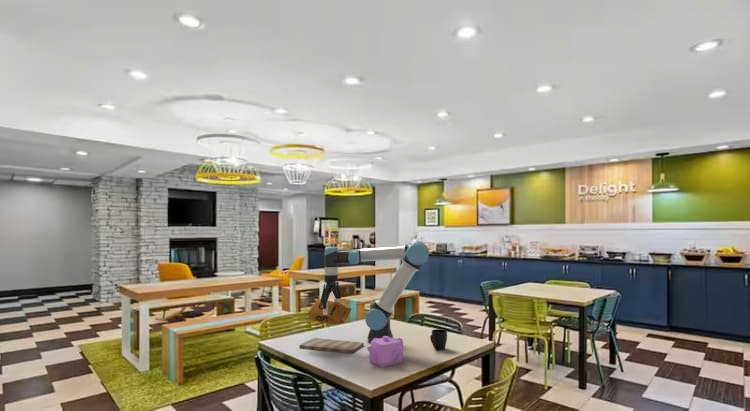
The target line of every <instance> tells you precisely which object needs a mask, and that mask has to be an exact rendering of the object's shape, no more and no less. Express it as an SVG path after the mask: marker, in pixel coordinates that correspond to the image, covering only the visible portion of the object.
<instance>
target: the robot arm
mask: <svg viewBox="0 0 750 411" xmlns="http://www.w3.org/2000/svg"><path fill="white" fill-rule="evenodd" d="M429 254H430V252H429V247H428V246H427V245H426V243H423V242H421V241H420V242H419V241H416V242H412V243H405V244H403V245H400V246H387V247H385V246H384V247H372V248H371V247H369V248H352V249H348V250H339V249H338V246H327V247H325V248H324V255H323V256H324V282H325V283H326V284H325V283H324V284H323V285H322V286H323V287H322V291H321V292H322V293H321V297H320V299H321V303H323V315H328V303H327V301H329V298H330V295H331V293H332V294H333V296H334V299H333V300H334V301H333V302H338V303H340V300H341V298H342V294H341V289H340V285H339V284H340V283H339V275H338V273H339V265H341V264H342V265H357V264H359V263H360V262H376V261H377V262H378V261H381V262H382V261H393V260H394V261H396V260H399V261H400V260H401V264H400V266H399V268H398V269H397V271H396V273H395V274H394V276H393V277H392V279H391V281H390V282H389V283H388V285H387V287H386V288H385V290H384V291H383V293H382V294H381V296H380V298H379V299H376V300H374V301H370V303H369V310H368V311H367V312H366V313H365V318H364V320H365V325H366V326H367V327H368V328H369V332H368V336H367V343H369V344H371V341H372V340H373V338H378V339H380V338H383V336H389V337H391V338H394V335H393V332H392V329H391V316H392V314H393V313H394V310H393V308H394V306H395V305H396V304H397V302H398V300H399V298H400V297H401V295H402V294H403V293H404V292H405V291H404V290H405V289H406V287H407V286H408V285H409V283H410V281H411V280H412V278H413V276H414V275H415V274H416V272H420V270H421V269H422V267H423V266H424V264H425V263H426V262H427V261H428V258H429Z"/></svg>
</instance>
